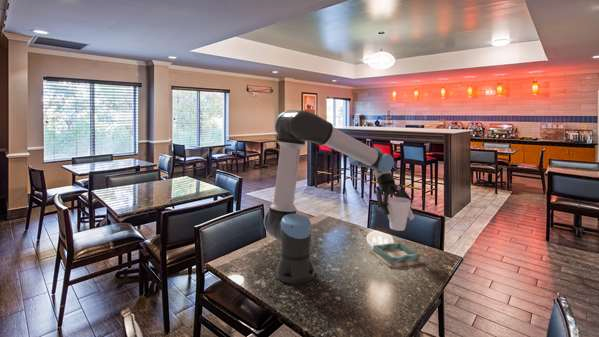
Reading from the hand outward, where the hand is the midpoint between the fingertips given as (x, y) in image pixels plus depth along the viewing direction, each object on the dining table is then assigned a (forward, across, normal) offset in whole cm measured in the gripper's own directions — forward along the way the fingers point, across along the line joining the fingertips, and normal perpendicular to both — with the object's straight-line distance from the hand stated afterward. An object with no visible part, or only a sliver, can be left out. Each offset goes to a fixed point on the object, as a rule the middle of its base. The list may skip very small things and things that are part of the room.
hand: (402, 219), depth 141 cm
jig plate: (+11, 0, -15) cm, 19 cm away
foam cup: (+1, 0, -6) cm, 6 cm away
